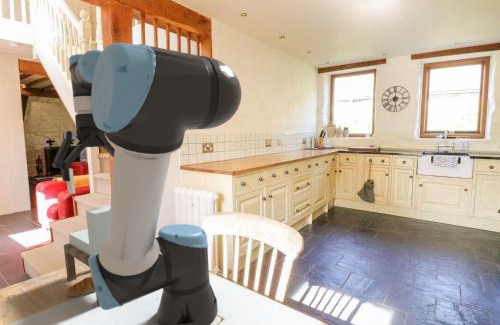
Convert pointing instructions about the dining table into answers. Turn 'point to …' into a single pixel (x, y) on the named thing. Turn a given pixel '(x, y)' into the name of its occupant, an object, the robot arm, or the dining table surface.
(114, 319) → the dining table surface
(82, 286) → the pastry
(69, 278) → the bench
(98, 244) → the white stepped block
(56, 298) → the dining table surface
